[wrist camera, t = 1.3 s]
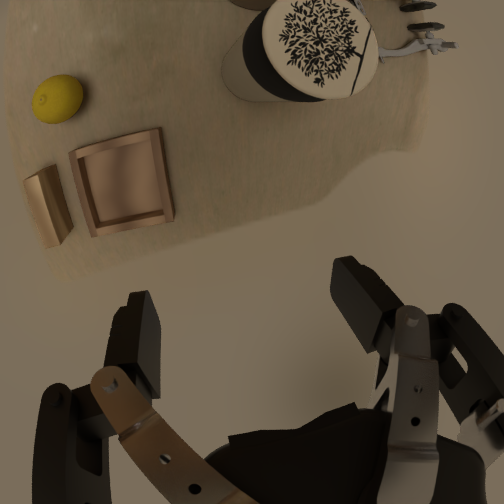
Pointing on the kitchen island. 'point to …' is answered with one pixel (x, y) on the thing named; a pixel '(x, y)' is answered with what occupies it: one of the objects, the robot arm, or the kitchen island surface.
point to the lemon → (57, 99)
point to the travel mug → (302, 53)
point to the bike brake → (416, 43)
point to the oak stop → (48, 206)
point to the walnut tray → (123, 182)
